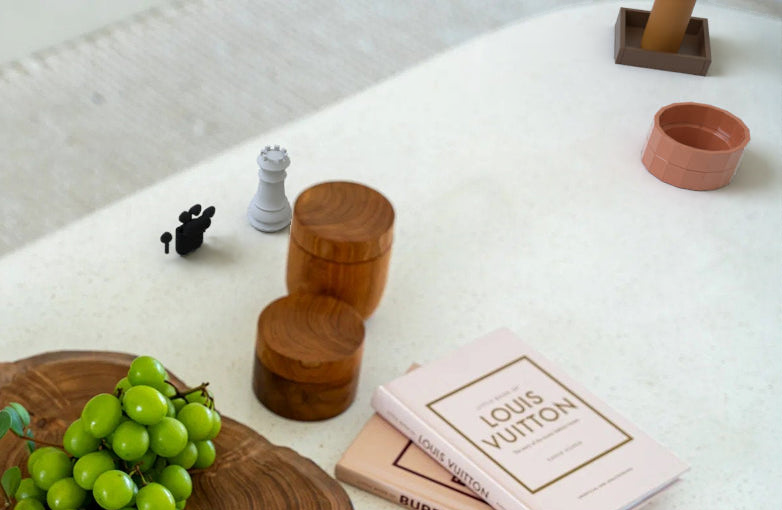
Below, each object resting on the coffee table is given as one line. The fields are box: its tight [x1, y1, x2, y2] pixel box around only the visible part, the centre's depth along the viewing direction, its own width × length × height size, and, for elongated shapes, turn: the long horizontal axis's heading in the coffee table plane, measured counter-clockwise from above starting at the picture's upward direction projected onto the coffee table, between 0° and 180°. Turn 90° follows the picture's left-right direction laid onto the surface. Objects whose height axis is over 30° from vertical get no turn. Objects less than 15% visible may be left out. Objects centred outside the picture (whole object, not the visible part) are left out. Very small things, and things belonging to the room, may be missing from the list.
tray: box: [613, 6, 713, 77], centre depth 137 cm, size 10×10×2 cm
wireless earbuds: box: [159, 203, 216, 257], centre depth 109 cm, size 7×2×5 cm, turn 133°
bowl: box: [640, 101, 752, 192], centre depth 119 cm, size 9×9×5 cm
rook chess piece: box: [246, 144, 292, 233], centre depth 111 cm, size 4×4×8 cm
